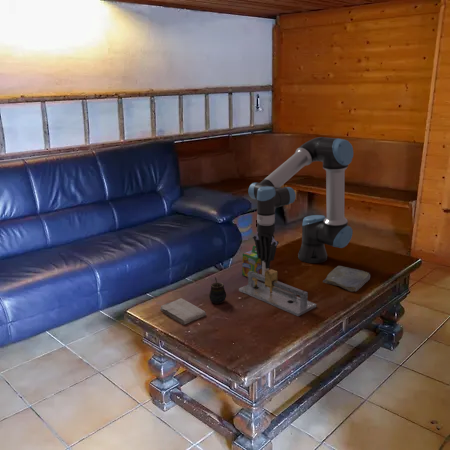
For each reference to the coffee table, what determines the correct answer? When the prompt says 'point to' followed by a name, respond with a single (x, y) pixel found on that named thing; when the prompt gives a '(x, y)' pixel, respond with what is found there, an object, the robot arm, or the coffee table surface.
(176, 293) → the coffee table surface
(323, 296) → the coffee table surface
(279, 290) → the combination wrench
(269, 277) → the block
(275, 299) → the trammel beam
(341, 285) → the grey stone slab
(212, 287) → the mate gourd
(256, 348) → the coffee table surface
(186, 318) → the washcloth
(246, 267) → the chalk box
